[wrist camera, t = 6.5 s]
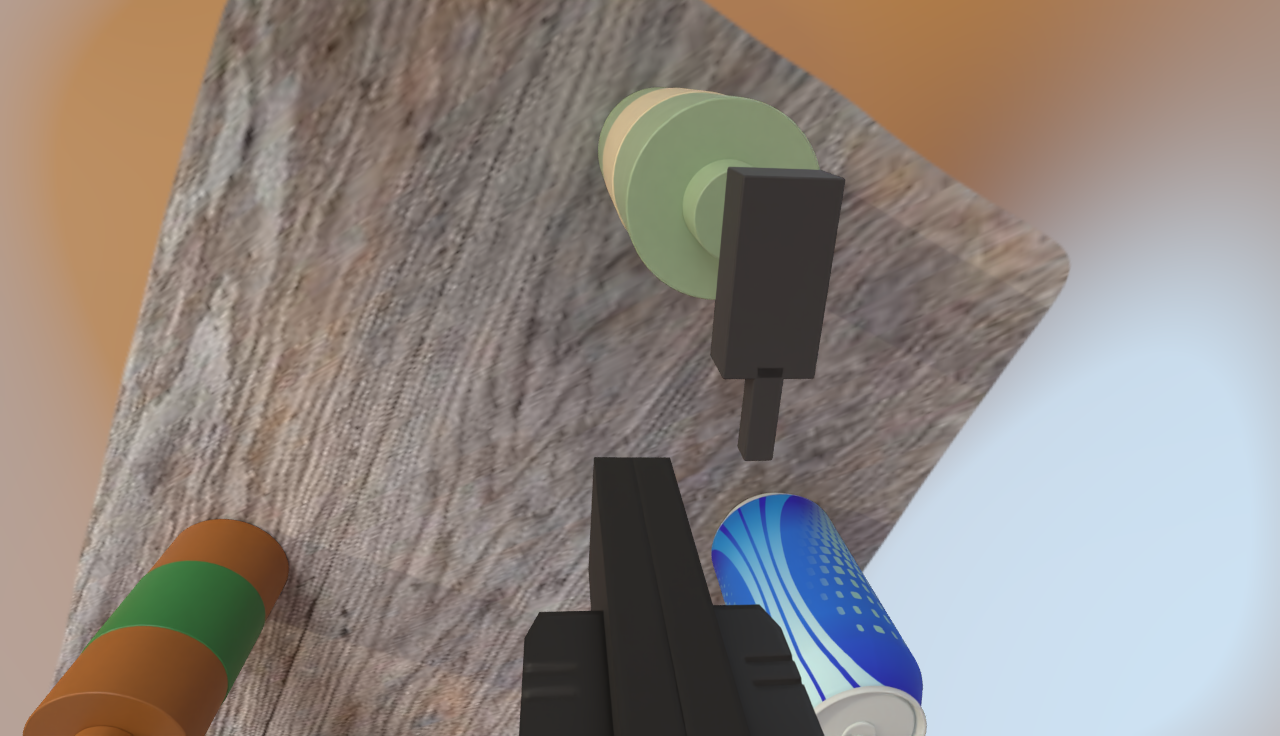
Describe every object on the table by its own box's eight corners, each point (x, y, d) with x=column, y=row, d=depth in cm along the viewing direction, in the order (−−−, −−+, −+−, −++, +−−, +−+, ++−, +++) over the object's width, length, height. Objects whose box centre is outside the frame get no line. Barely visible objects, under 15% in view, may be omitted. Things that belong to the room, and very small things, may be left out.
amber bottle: (157, 519, 42) (-39, 737, 28) (280, 516, 42) (149, 726, 29) (182, 610, 44) (15, 849, 31) (298, 605, 45) (185, 836, 32)
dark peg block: (718, 161, 18) (743, 174, 15) (808, 164, 18) (846, 178, 16) (696, 417, 20) (714, 462, 18) (773, 416, 21) (801, 460, 18)
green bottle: (598, 82, 35) (634, 91, 18) (723, 88, 36) (866, 101, 19) (595, 212, 37) (625, 321, 21) (712, 215, 38) (830, 322, 22)
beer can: (683, 530, 46) (741, 741, 32) (786, 460, 45) (895, 646, 30) (750, 602, 49) (830, 823, 35) (848, 538, 48) (974, 740, 34)
